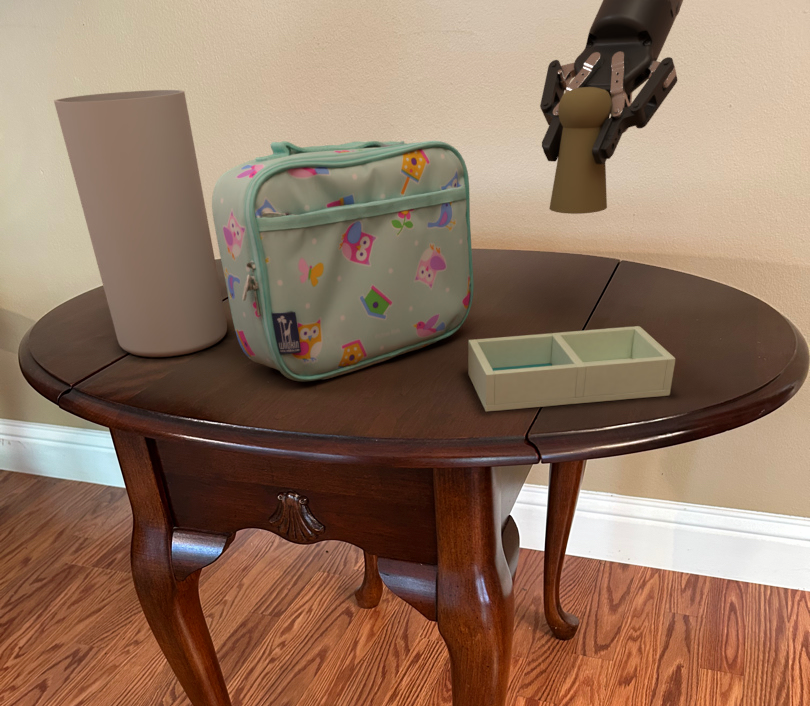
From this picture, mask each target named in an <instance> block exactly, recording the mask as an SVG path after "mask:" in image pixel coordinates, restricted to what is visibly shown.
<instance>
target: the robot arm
mask: <svg viewBox="0 0 810 706" xmlns="http://www.w3.org/2000/svg"><path fill="white" fill-rule="evenodd" d="M683 2H684V0H602V2H601V4H600V6H599V9H598V11H597V13H596V15H595V18H594V20H593V22H592V24H591V26H590V28H589V30H588V35H587V39H586V44H585V47H584V49H583V51H582V52H581V53H580V54H578V56H577V57H576V58H575V60H574V62H572V63H566V64H563V65H562V64H561V63H560V60H558V59H553V60H552V61H551V62H549V64H548V67H547V72H546V77H545V81H544V84H543V85H544V86H543V91H542V96H541V99H540V104H539V108H540V110H541V112H542V114H543V117H544V119H545V121H546V123H547V125H548V128H547V130H546V132H545V134H544V137H543V138H542V141H541V148H542V151H543V153H544V155H545V158H546V160H547V162H553V163H555V162H557V161H558V155H559V149H560V143H561V137H562V131H563V126H562V124H561V122H560V120H559V115H558V109H559V103H560V100H561V98H562V96H563V94H564V93H566V92H567V91H570V90H573V89H576V88H582V87H595V88H600V89H604V90H606V91H607V92H608V93H609V95H610V97H611V103H612V105H611V111H610V116H609V118H606V119H605V121H604V124H603V126H602V128H601V130H600V133H599V135H598V137H597V139H596V142H595V144H594V146H593V149H592V155H593V157H594V160H595V162H596V164H605V165H606V162H607V161H608V160H610V159H611V158H612V157H613V156H614V154H615V151H616V149H617V147H618V145H619V143H620V140H621V139H622V136H623V134H624V133H625V132H627V131H628V130H629V128H633V127H635V128H636V129H643V128H645V127H646V126H647V125H648V124H649V122H651V119H652V118H653V117H654V115H655V113H656V112H657V111H658V109H659V108H660V107H661V106H662V104H663V102H664V101H665V100H666V98H667V97H668V95H669V94H670V93H671V91H672V90H673V88H674V87H675V86H676V84H677V83H678V75H677V70H676V67H675V62H674V59H673V57H671V56H668V57H665V58H663V59H662V60H661V61H658V58H659V57H660V54H661V52H662V50H663V48H664V46H665V43H666V42H667V38H668V37H669V34H670V32H671V30H672V28H673V25H674V23H675V21H676V18H677V16H678V15H679V14H680V11H681V7H682V5H683ZM644 83H645V84H644ZM643 84H644V85H643ZM642 85H643V87H642V88H641V89H640V91H638V93H637V95H636V96H635V98H634V99H633V93H634V92H635V91H636V90H637V89H638V88H639V87H641V86H642Z"/></svg>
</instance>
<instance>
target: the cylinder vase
mask: <svg viewBox="0 0 810 706" xmlns="http://www.w3.org/2000/svg"><path fill="white" fill-rule="evenodd" d="M53 103H54V106H55V111H56V114H57V118H58V121H59V125H60V130H61V133H62V136H63V140H64V144H65V147H66V151H67V155H68V160H69V162H70V167H71V171H72V175H73V178H74V182H75V185H76V188H77V189H76V190H77V193H78V196H79V197H78V198H79V200H80V204H81V209H82V211H83V216H84V220H85V223H86V226H87V230H88V234H89V239H90V241H91V245H92V246H91V247H92V249H93V252H94V257H95V260H96V265H97V268H98V272H99V275H100V280H101V282H102V287H103V290H104V294H105V297H106V301H107V305H108V306H107V307H108V309H109V313H110V316H111V320H112V324H113V328H114V331H115V335H116V339H117V343H118V345H119V346H120V347H121V349H122V350H123V351H125V352H126V353H128V354H131V355H134V356H139V357H144V358H145V357H146V358H169V357H176V356H183V355H188V354H192V353H196V352H200V351H203V350H205V349H207V348H208V349H209V348H210V347H212V346H215V344H217V343H218V342H220V341H221V340H223V338H224V337H225V336H226V334H227V331H228V324H227V319H226V313H225V308H224V303H223V296H222V290H221V286H220V285H221V284H220V281H219V275H218V270H217V264H216V258H215V254H214V248H213V241H212V236H211V230H210V225H209V220H208V219H209V218H208V213H207V208H206V204H205V203H206V202H205V198H204V192H203V191H204V190H203V187H202V181H201V175H200V170H199V164H198V159H197V154H196V149H195V143H194V136H193V131H192V127H191V126H192V125H191V120H190V115H189V108H188V103H187V98H186V92H185V91H184V90H180V89H156V90H155V89H153V90H150V89H149V90H133V91H131V90H130V91H119V92H118V91H117V92H105V93H95V94H85V95H76V96H69V97H68V96H67V97H63V98H57V99H54V100H53Z"/></svg>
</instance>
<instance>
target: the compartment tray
mask: <svg viewBox="0 0 810 706" xmlns="http://www.w3.org/2000/svg"><path fill="white" fill-rule="evenodd" d="M467 345H468V347H467V348H468V349H467V350H468V351H467V354H468V355H467V361H468V362H467V368H468V369H467V375H468V376H469V379H470V381H471V383H472V384H473V387H474V389H475V392H476V394H477V397H478V399H479V400H480V402H481V405H482V407H483V409H484V411H485V412H497V411H508V410H509V411H510V410H521V409H530V408H542V407H554V406H564V405H576V404H589V403H599V402H610V401H623V400H632V399H633V400H634V399H643V398H644V399H645V398H655V397H666V396H667V397H668V396H671V389H672V384H673V383H672V382H673V377H674V371H675V366H676V365H675V364H676V358H675V356H673V354H671V353H670V352H669V351H668V350H667V349H666V348H664V347H663V346H662V345H661V344H660V343H659V342H658V341H656V339H654V338H653V336H651V335H650V334H649V333H648V332H647V331H646V330H644V328H642V327H641V326H640V325H636V326H623V327H610V328H599V329H598V328H597V329H587V330H575V331H574V330H573V331H562V332H561V331H560V332H553V333H552V332H549V333H538V334H537V333H536V334H527V335H513V336H503V337H489V338H488V337H487V338H477V339H468V341H467Z"/></svg>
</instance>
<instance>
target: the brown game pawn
mask: <svg viewBox="0 0 810 706" xmlns="http://www.w3.org/2000/svg"><path fill="white" fill-rule="evenodd" d="M565 92H566V91H565ZM565 92H564V94H563V96H562V98H561V100H560V103H559V109H558V115H559V120H560V122H561V124H562V126H563V131H562V137H561V143H560V149H559V155H558V158H557V160H556V167H555V173H554V179H553V183H552V184H553V185H552V190H551V195H550V203H549V210H550V211H551V212H554V213H560V214H567V215H569V214H571V215H579V214H580V215H581V214H593V213H598V212H602V211H605V210H606V209H607V208H608V202H607V199H608V198H607V197H608V196H607V169H606V163H605V164H596V162H595V160H594V157H593V155H592V149H593V146H594V144H595V142H596V139H597V137H598V135H599V133H600V130H601V128H602V126H603V124H604V121H605V119H606V118H610V117H611V114H610V111H611V105H612V103H611V97H610V95H609V93H608V92H607V91H606V90H604V89H600V88H595V87H582V88H576V89H573V90H570V91H567V92H566V93H565Z"/></svg>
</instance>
